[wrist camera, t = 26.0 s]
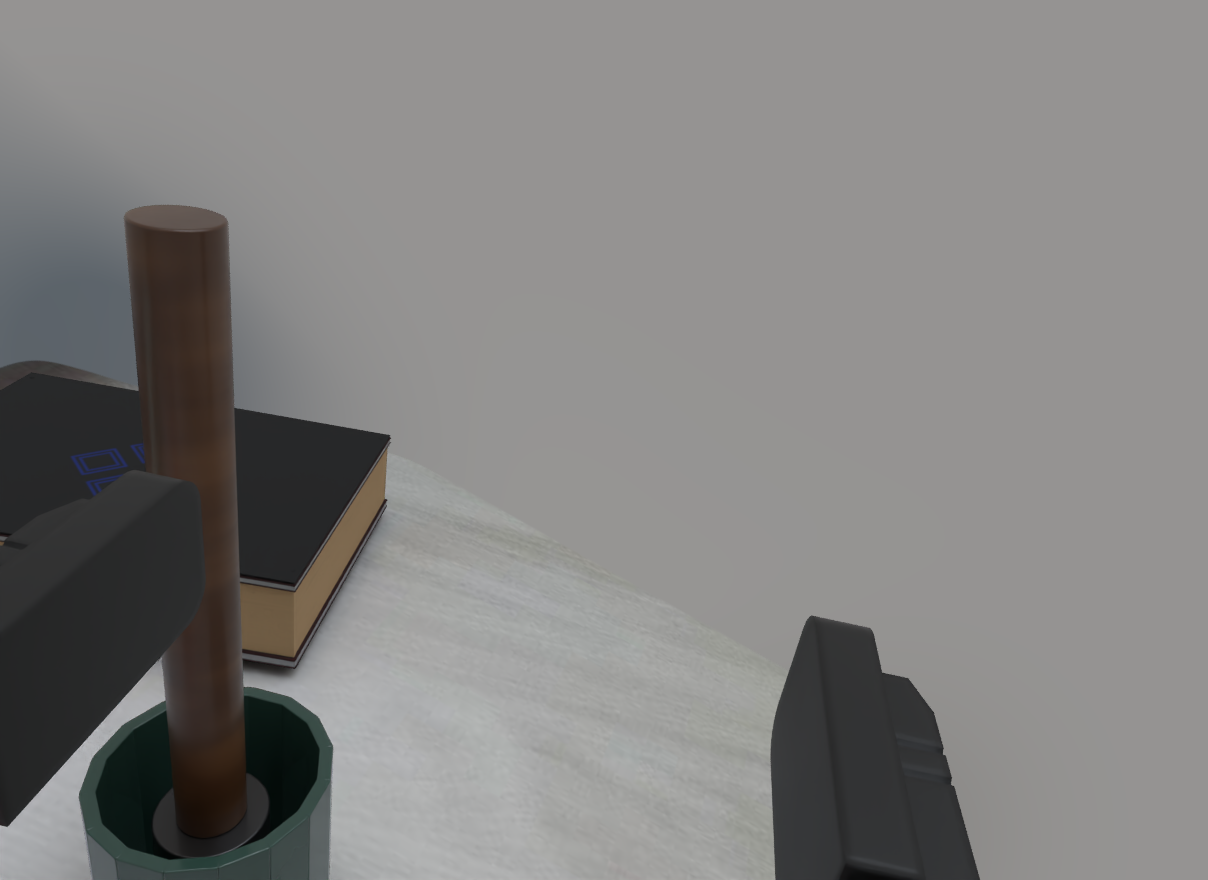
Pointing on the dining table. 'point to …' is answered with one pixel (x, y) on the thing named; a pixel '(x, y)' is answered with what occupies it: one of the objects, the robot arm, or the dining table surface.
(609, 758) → the dining table surface
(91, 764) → the green faceted cup
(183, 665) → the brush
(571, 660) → the dining table surface
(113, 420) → the book
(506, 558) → the dining table surface
